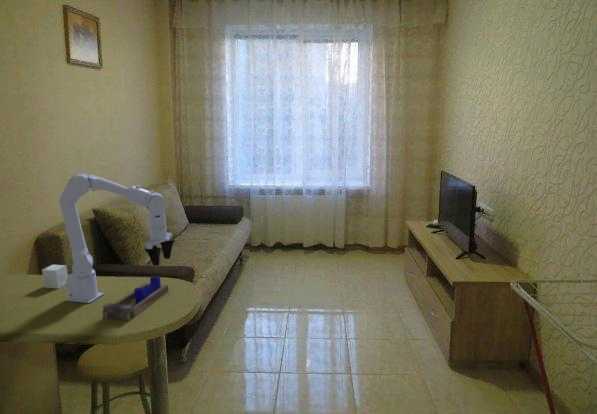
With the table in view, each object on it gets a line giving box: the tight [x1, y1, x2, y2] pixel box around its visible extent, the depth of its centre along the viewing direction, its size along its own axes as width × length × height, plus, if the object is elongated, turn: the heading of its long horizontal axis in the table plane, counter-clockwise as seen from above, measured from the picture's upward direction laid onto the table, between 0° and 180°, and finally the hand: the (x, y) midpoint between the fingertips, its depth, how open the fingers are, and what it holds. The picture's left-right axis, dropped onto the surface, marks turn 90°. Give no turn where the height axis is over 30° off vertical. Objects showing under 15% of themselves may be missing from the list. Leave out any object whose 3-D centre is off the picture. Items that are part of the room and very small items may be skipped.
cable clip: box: [133, 276, 162, 305], centre depth 162 cm, size 12×4×6 cm, turn 168°
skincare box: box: [41, 264, 69, 290], centre depth 176 cm, size 6×6×7 cm
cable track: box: [101, 282, 169, 322], centre depth 158 cm, size 9×24×4 cm, turn 165°
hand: (161, 261), depth 172 cm, fingers open, 7 cm apart
